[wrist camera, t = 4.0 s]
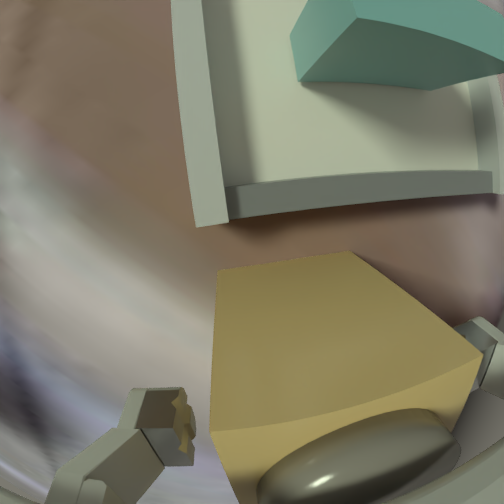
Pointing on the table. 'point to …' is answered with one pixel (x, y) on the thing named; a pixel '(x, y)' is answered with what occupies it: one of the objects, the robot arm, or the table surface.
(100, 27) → the table surface
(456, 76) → the pusher
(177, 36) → the tray
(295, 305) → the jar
